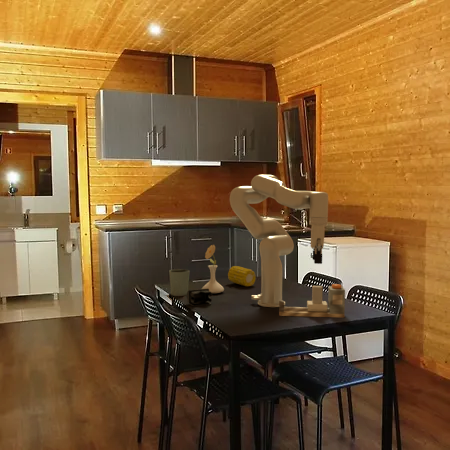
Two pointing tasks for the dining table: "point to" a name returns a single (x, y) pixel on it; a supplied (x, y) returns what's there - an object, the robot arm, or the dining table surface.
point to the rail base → (334, 310)
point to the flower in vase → (212, 273)
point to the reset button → (336, 286)
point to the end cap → (199, 297)
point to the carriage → (317, 300)
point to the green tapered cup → (179, 282)
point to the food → (241, 276)
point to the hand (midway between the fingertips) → (317, 261)
